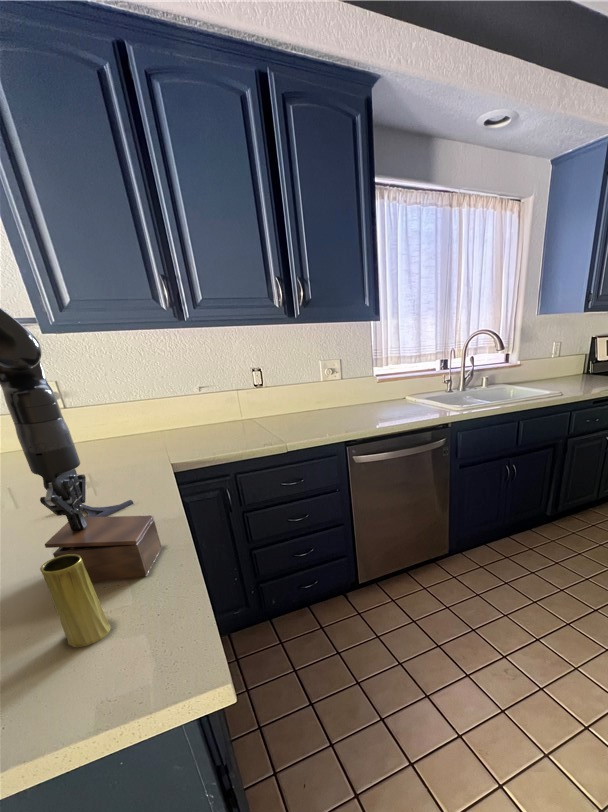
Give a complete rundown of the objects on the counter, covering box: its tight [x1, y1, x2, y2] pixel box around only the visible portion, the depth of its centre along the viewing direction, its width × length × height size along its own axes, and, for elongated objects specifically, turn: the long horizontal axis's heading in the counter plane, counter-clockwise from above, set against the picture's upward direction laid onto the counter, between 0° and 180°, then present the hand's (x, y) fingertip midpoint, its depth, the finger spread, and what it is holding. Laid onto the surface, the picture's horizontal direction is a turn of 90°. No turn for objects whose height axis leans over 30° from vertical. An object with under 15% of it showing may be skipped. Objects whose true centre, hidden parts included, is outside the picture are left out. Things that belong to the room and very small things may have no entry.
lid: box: [44, 515, 155, 549], centre depth 85 cm, size 15×12×1 cm
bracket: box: [81, 499, 134, 517], centre depth 114 cm, size 14×15×3 cm
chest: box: [52, 519, 163, 584], centre depth 88 cm, size 15×12×8 cm
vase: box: [39, 554, 112, 648], centre depth 67 cm, size 6×6×14 cm
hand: (79, 529), depth 84 cm, fingers closed
